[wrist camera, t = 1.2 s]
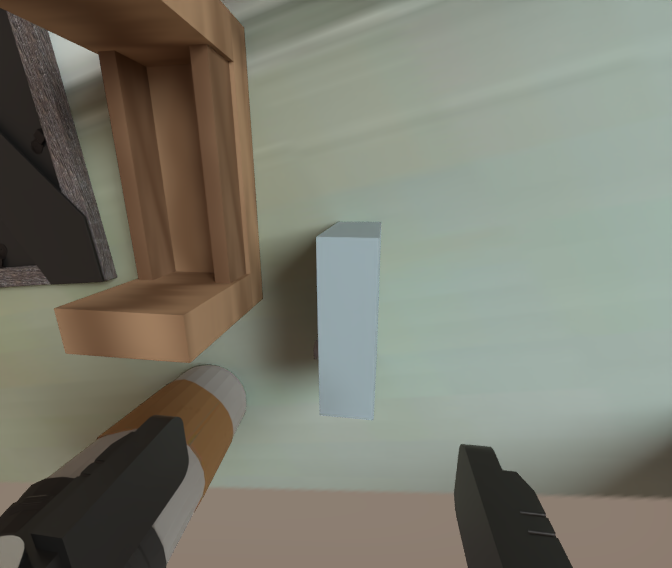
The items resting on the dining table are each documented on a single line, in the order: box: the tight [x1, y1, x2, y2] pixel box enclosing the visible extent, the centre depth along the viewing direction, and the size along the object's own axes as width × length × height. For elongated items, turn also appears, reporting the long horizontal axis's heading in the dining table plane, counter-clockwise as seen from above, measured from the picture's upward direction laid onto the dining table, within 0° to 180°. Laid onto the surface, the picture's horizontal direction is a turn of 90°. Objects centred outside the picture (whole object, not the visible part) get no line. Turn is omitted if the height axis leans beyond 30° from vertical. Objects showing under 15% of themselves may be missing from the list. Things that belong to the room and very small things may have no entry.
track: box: [0, 0, 263, 363], centre depth 19 cm, size 7×18×10 cm, turn 0°
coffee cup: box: [0, 365, 246, 568], centre depth 22 cm, size 8×8×15 cm
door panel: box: [314, 222, 381, 420], centre depth 21 cm, size 4×10×8 cm, turn 0°
